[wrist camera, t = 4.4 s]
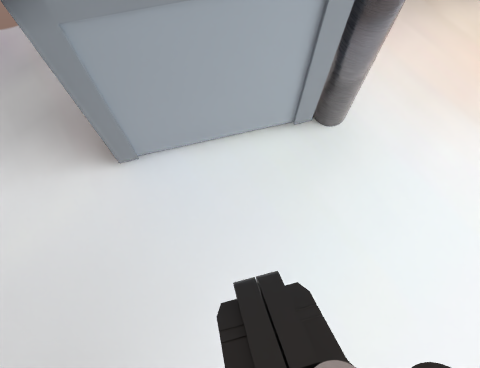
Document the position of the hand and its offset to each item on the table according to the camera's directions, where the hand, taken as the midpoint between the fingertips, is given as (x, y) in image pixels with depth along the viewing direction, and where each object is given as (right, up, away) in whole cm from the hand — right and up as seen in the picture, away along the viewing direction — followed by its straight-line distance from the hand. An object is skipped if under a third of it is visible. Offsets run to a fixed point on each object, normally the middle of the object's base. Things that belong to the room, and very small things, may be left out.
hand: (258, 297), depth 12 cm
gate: (-3, +8, +19) cm, 21 cm away
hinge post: (+8, +10, +21) cm, 25 cm away
